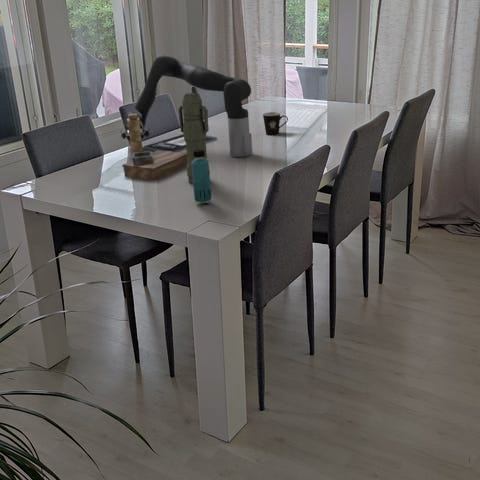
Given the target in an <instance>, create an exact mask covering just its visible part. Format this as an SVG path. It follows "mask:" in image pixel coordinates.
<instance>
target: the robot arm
mask: <svg viewBox="0 0 480 480" xmlns="http://www.w3.org/2000/svg"><path fill="white" fill-rule="evenodd" d="M162 77H167V78H168V77H169V78H175V79H180V80H183V81H185V82H186V83H187V84H188V85H190V86H192V87H195V88H197V89H200V90H204V91H210V92H212V91H213V92H222V93H223V101H224V109H225V112H226V114H227V115H226V116H227V126H228V127H227V128H228V129H227V130H228V139H229V140H228V141H229V155H230V156H231V157H233V158H246V157H249V156H251V155H253V145H252V144H253V141H252V139H253V138H252V133H251V132H250V123H249V121H250V120H249V119H250V118H249V111H248V109H246V108H244V107H243V103H242V102H243V101H244V100H246V99H248V98H249V97H250V96H251V94H252V87H251V85H250V83H249V82H248V81H246V80H245V79H242V78H238V77H233V76H228V75H225V74H222V73H219V72H218V71H217V72H216V71H213V70H211V69H208V68H205V67H202V66H199V65H195V64H188V63H185V62H184V61H181V60H179V59H177V58H175V57H174V56H173V57H172V56H169V55H163V54H161V55H159V54H158V55H157V56H155V58H154V60H153V62H152V65H151V67H150V70H149V74H148V76H147V79H146V82H145V85H144V88H143V90H142V92H141V94H140V96H139V98H138V99H137V101H136V103H135V105H134V107H135V110H136V111H137V112H139V114H141V115H139V114H138V113H135V112H133V111H128V112H126V114H124V118H123V123H124V125H125V127H126V130H125V131H123V130H120V131H119V133H120V134H119V135H120V137H121V138H122V139H123V140H128V141H130V136H129V129H128V121H127V119H128V115H129V114H137V116H138V118H139V123H140V131H141V140H142V139H144V138H145V137H146V138H147V137H149V136H150V135H151V128H148V127H147V128H146V129H145V127H146V123H147V118H148V115H149V112H150V110H151V108H152V106H153V104H154V102H155V100H156V96H157V86H158V83H159V81H160V80H161V78H162Z"/></svg>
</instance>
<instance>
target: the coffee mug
mask: <svg viewBox="0 0 480 480" xmlns="http://www.w3.org/2000/svg"><path fill="white" fill-rule="evenodd" d="M284 117H285V118H286V121H285V122H284V123H282V124H281V125H280V123H281V120H282V118H284ZM262 119H263V124H264V130H265V134H266V136H276V135H279V134H280V128H282V127H283V126H284V125H286V124H287V122H288V121H289V119H288V116H287V115H281V113H280V112H277V111H274V112H273V111H271V112H264V113H263V114H262Z"/></svg>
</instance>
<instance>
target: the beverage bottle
mask: <svg viewBox="0 0 480 480" xmlns="http://www.w3.org/2000/svg"><path fill="white" fill-rule="evenodd" d="M193 156H194V157H203V156H205V153H204V150H203V149H196V150H194V151H193ZM208 164H209V160H208V159H207V160H206V159H205V158H196V159H194V160H193V161H192V162H191V165H192V175H193V184H192V185H193V198H194V201H195V202H196V203H197V202H198V203H206V202H209V201H211V200H212V197H213V196H212V195H213V194H212V186H211V178H210V177H211V176H210V175H209V173H210V164H209V165H208ZM210 174H211V173H210Z"/></svg>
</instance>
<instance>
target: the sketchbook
mask: <svg viewBox="0 0 480 480" xmlns="http://www.w3.org/2000/svg"><path fill="white" fill-rule="evenodd" d="M214 141H218V138H217V136H212V135H209V134H206V144H207V143H211V142H214ZM144 147H145V148H146V149H150V150H154V151H157V150H161V151H171V152H182V151H185V150H186V142H185V140H184V134H183V133H182V134H179V135H176V136H174V137H173V136H172V137H170V138H166V139H164V140H163V139H162V140H159V141H156V142H153V143H150V144H147V145H143V148H144Z"/></svg>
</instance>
